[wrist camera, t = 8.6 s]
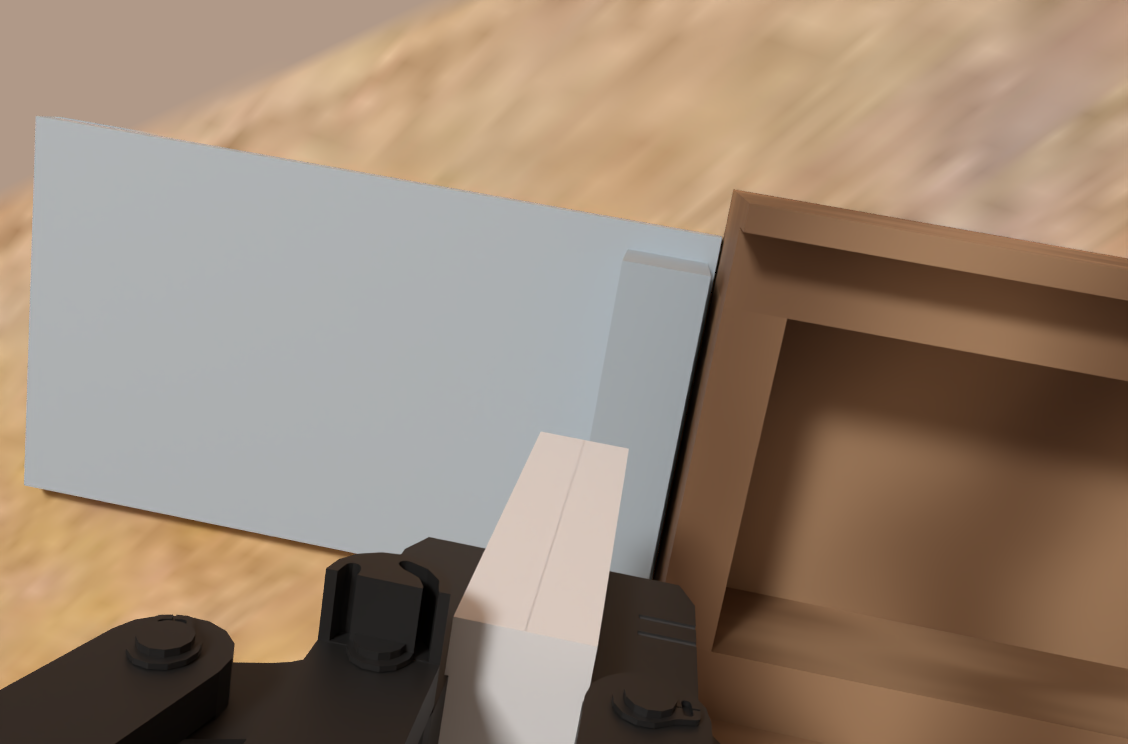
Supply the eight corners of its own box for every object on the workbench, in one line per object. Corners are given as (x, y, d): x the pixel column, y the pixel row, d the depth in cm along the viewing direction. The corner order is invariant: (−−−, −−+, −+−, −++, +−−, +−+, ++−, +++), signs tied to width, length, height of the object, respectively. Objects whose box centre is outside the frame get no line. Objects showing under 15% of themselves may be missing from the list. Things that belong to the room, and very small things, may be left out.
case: (1489, 322, 20) (1740, 377, 16) (1305, 769, 23) (1471, 935, 18) (733, 189, 22) (750, 203, 17) (641, 631, 24) (633, 752, 19)
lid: (720, 234, 22) (727, 248, 19) (645, 594, 25) (641, 659, 22) (62, 117, 24) (-31, 113, 20) (48, 472, 26) (-38, 517, 23)
